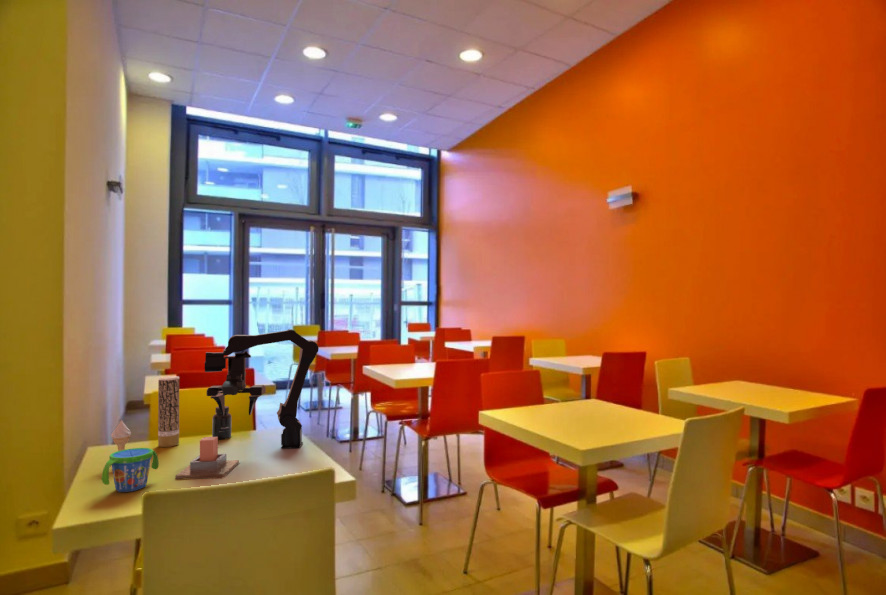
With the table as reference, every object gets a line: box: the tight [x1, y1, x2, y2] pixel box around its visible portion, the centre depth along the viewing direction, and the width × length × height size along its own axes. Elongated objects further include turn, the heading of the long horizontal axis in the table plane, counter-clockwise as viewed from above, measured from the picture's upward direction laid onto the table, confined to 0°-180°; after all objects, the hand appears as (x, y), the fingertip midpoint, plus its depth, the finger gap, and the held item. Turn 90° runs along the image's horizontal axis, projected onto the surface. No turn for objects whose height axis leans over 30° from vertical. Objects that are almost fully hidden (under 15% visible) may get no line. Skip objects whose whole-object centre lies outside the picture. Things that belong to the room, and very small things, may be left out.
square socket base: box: [175, 453, 240, 480], centre depth 159 cm, size 14×14×4 cm
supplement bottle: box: [211, 405, 233, 441], centre depth 198 cm, size 7×7×12 cm
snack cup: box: [101, 447, 160, 493], centre depth 144 cm, size 16×10×10 cm
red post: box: [199, 436, 219, 461], centre depth 159 cm, size 4×4×9 cm
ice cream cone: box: [110, 419, 132, 451], centre depth 164 cm, size 6×6×15 cm
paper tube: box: [157, 375, 180, 448], centre depth 188 cm, size 7×7×25 cm
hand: (236, 415), depth 179 cm, fingers open, 9 cm apart
